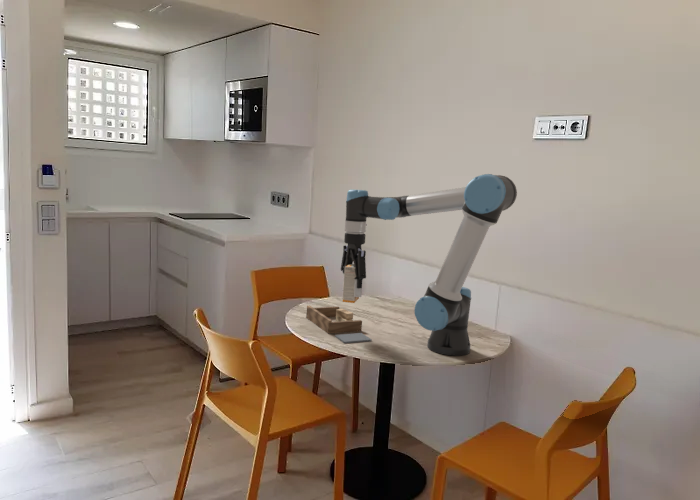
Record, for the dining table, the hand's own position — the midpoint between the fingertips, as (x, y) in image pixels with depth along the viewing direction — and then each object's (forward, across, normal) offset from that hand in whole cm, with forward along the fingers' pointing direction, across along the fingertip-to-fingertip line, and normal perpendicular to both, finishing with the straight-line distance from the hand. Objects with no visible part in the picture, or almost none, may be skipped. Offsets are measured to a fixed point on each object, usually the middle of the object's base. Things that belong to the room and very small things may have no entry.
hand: (351, 293), depth 207 cm
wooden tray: (+15, +15, 0) cm, 21 cm away
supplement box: (+3, 0, 0) cm, 3 cm away
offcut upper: (+13, +14, -4) cm, 20 cm away
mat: (+16, -4, 0) cm, 16 cm away
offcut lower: (+16, +15, -4) cm, 22 cm away
